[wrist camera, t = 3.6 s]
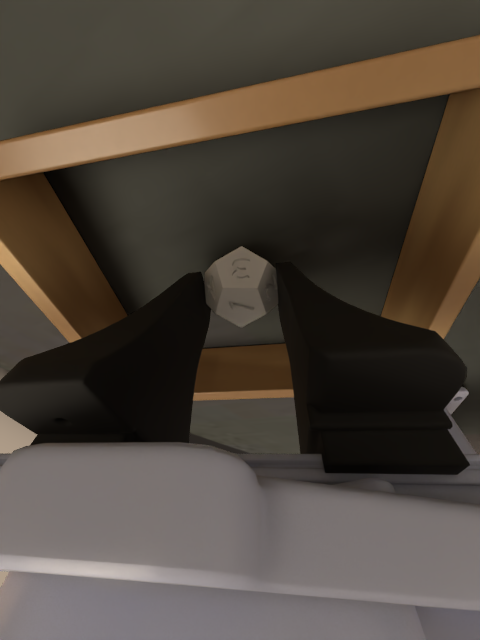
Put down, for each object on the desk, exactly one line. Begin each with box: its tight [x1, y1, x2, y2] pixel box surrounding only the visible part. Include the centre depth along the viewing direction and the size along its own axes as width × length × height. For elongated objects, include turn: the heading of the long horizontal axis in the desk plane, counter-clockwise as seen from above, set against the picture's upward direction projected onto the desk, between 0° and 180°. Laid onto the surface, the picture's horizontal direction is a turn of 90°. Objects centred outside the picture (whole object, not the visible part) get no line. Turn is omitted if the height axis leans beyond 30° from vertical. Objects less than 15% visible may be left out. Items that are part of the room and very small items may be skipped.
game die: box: [204, 246, 278, 327], centre depth 11 cm, size 4×4×3 cm
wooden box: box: [0, 35, 480, 400], centre depth 10 cm, size 13×17×4 cm
